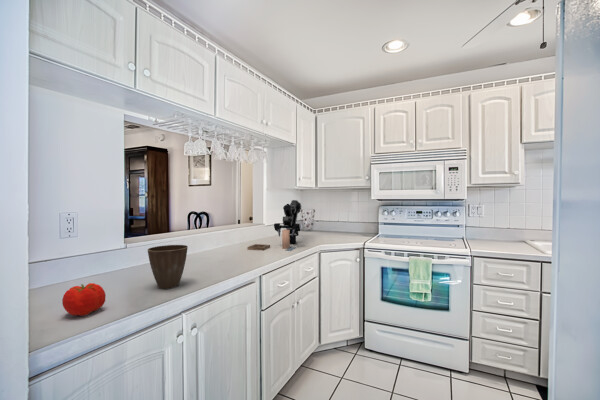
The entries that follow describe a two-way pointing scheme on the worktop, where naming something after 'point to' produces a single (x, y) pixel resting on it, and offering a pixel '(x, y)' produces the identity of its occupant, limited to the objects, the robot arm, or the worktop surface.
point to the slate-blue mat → (290, 248)
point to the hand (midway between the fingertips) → (285, 236)
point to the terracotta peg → (285, 239)
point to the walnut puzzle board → (258, 247)
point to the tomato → (83, 299)
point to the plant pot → (167, 264)
